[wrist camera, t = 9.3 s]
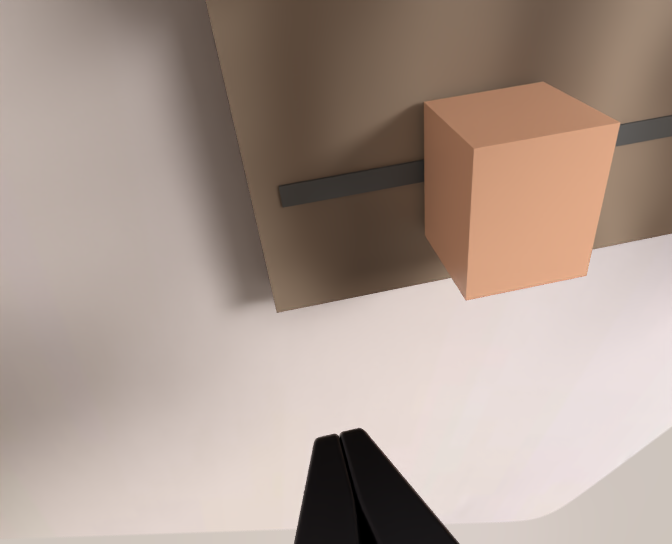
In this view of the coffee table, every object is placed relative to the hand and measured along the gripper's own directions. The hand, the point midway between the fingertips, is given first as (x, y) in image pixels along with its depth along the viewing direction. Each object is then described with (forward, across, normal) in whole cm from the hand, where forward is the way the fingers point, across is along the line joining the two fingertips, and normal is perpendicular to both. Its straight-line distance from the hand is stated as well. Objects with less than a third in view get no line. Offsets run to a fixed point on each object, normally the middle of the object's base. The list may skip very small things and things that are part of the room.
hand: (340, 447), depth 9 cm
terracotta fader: (+10, -7, 0) cm, 12 cm away
